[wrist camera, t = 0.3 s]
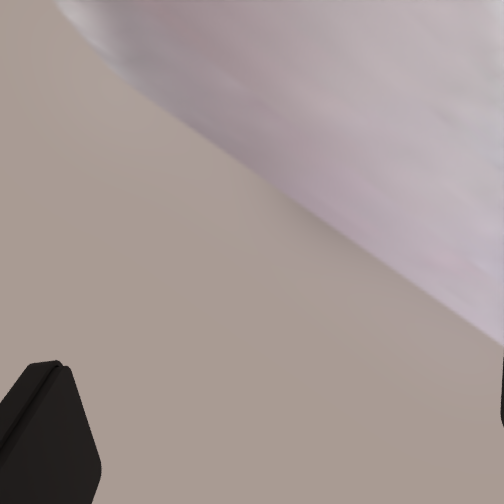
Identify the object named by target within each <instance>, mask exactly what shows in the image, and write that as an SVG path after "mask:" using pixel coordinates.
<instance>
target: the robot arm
mask: <svg viewBox="0 0 504 504" xmlns="http://www.w3.org/2000/svg"><path fill="white" fill-rule="evenodd" d="M503 360H504V359H503ZM501 420H502V424H503V426H504V361H503V378H502V395H501ZM100 477H101V461H100V458H99V455H98V451H97V449H96V445H95V442H94V439H93V436H92V433H91V430H90V427H89V424H88V421H87V418H86V415H85V411H84V408H83V405H82V402H81V399H80V396H79V393H78V390H77V387H76V384H75V380H74V378H73V374H72V371H71V369H70V368H69V367H68V366H63V365H62V364H61V362H60V361H57V360H55V361H48V362H40V363H32V364H30V365H28V366H27V368H26V369H25V370H24V372H23V373H22V374H21V376H20V377H19V378H18V380H17V381H16V383H15V384H14V385H13V387H12V388H11V389H10V391H9V392H8V393H7V395H6V396H5V397H4V399H3V400H2V401H1V403H0V504H92V501H93V498H94V495H95V493H96V490H97V487H98V484H99V481H100Z"/></svg>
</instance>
